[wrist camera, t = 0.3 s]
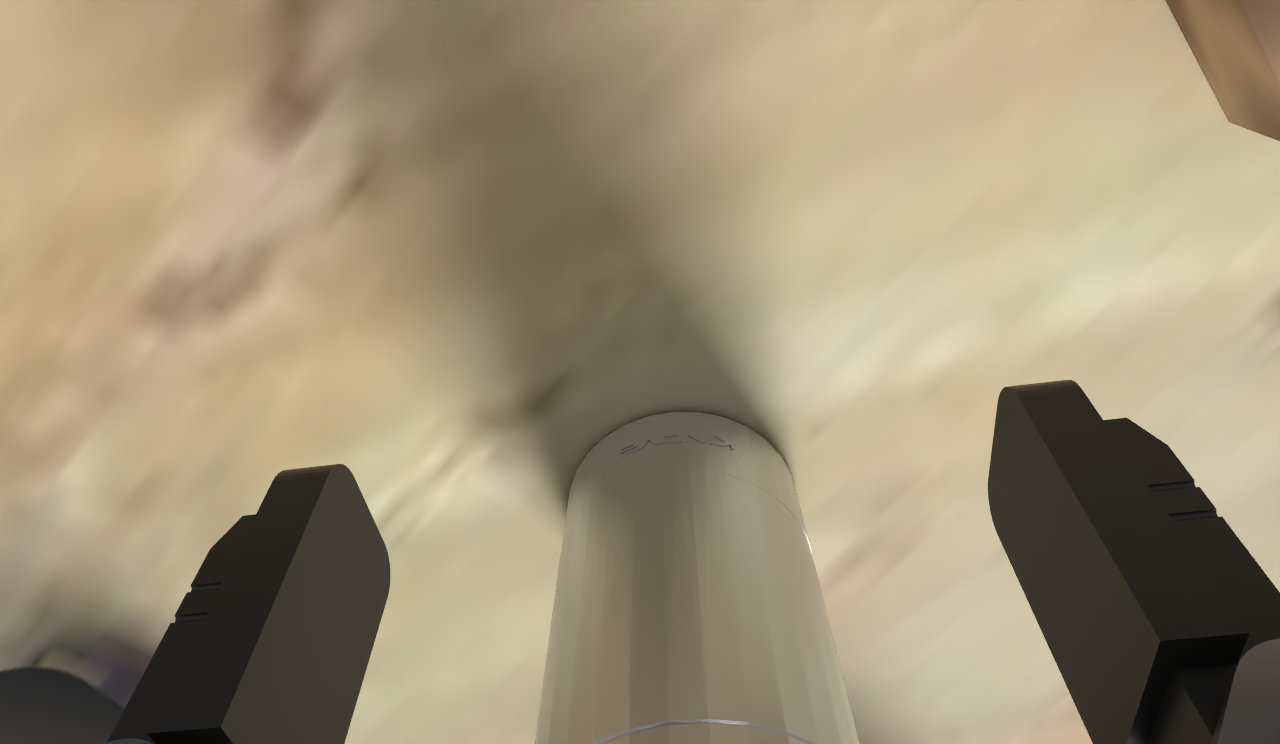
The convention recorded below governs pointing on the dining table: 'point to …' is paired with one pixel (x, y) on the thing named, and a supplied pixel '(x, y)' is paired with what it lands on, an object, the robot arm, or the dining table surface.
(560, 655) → the robot arm
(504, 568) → the dining table surface
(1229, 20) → the walnut block
